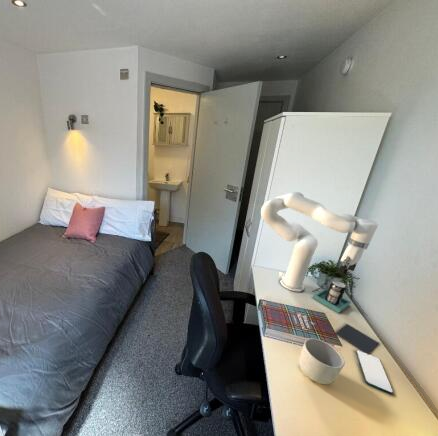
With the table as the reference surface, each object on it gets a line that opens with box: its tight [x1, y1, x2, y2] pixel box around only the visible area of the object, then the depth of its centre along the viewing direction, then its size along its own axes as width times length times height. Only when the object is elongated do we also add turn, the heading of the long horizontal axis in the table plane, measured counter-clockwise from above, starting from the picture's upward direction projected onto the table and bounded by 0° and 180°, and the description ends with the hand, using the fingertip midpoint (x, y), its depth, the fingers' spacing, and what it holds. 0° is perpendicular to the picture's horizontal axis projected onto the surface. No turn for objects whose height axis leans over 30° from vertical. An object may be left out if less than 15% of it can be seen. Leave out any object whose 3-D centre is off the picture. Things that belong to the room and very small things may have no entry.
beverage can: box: [325, 280, 347, 305], centre depth 127 cm, size 7×7×12 cm
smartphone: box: [355, 349, 394, 395], centre depth 91 cm, size 8×1×16 cm
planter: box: [298, 337, 346, 385], centre depth 88 cm, size 12×12×11 cm
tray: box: [313, 288, 352, 314], centre depth 129 cm, size 13×13×2 cm
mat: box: [335, 323, 379, 355], centre depth 106 cm, size 12×12×1 cm
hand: (345, 271), depth 121 cm, fingers open, 9 cm apart
